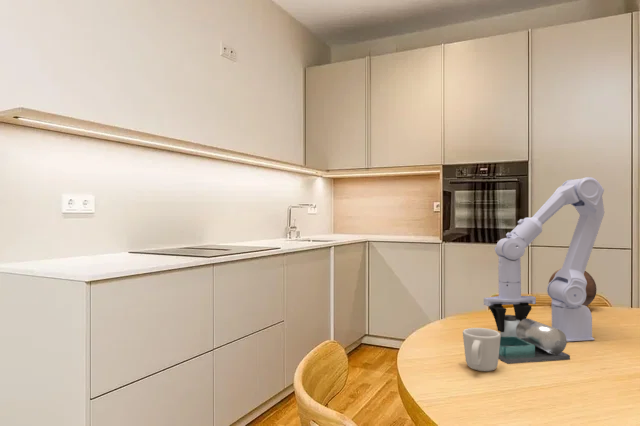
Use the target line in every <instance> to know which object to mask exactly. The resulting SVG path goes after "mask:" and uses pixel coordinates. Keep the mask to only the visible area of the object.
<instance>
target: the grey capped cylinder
mask: <svg viewBox="0 0 640 426" xmlns="http://www.w3.org/2000/svg"><path fill="white" fill-rule="evenodd" d="M519 322H520V320H519V319H516V316H515V314H505V319H504V332H500V331H499V333H500V335H501V337H505V336H516V337H518V336H517V334H516V327H517V325H518V323H519Z"/></svg>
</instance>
